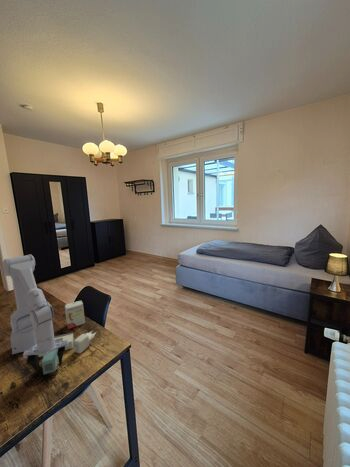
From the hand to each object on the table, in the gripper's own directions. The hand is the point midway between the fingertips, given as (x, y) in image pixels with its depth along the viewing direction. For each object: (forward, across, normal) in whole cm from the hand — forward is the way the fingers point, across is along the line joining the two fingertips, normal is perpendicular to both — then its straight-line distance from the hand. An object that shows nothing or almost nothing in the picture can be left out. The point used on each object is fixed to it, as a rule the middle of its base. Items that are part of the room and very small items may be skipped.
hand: (49, 367), depth 77 cm
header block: (+1, 0, +13) cm, 13 cm away
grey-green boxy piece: (+2, 0, +3) cm, 3 cm away
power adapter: (+2, +13, +10) cm, 16 cm away
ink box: (+2, +7, +30) cm, 30 cm away
